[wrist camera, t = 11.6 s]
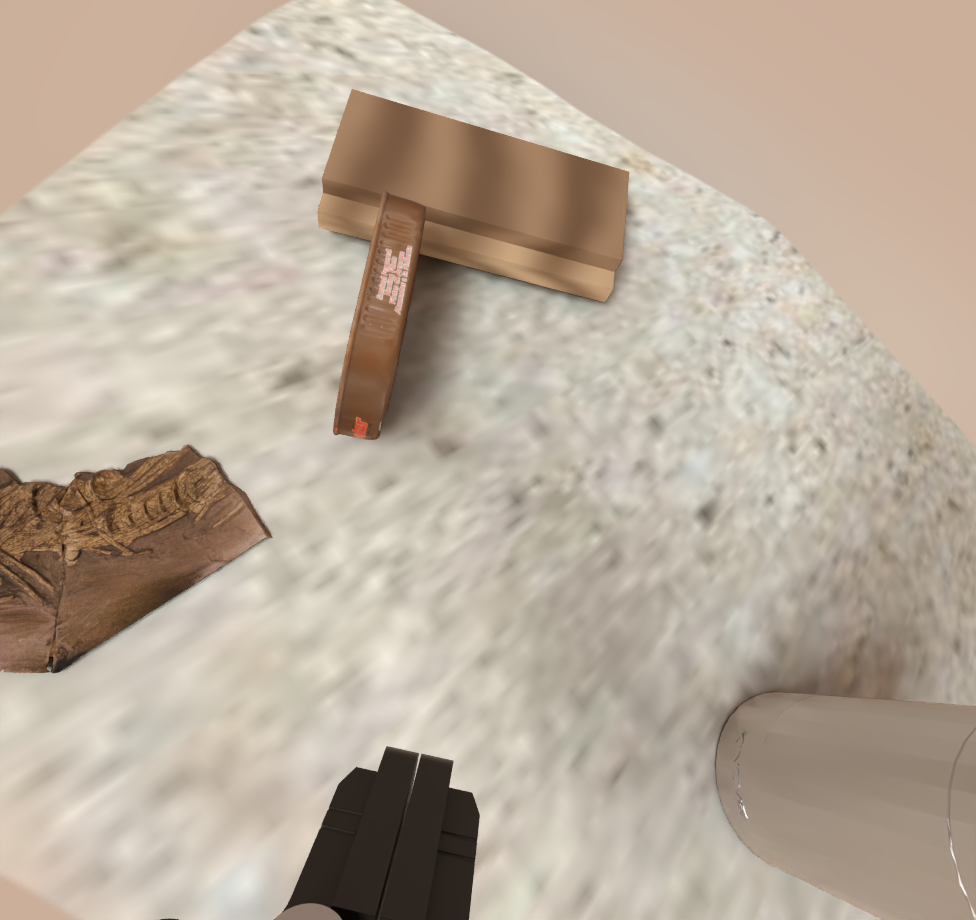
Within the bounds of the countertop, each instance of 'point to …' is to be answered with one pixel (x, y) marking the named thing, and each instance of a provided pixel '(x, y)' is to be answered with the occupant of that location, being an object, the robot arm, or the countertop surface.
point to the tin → (380, 318)
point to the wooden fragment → (109, 551)
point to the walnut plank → (479, 196)
